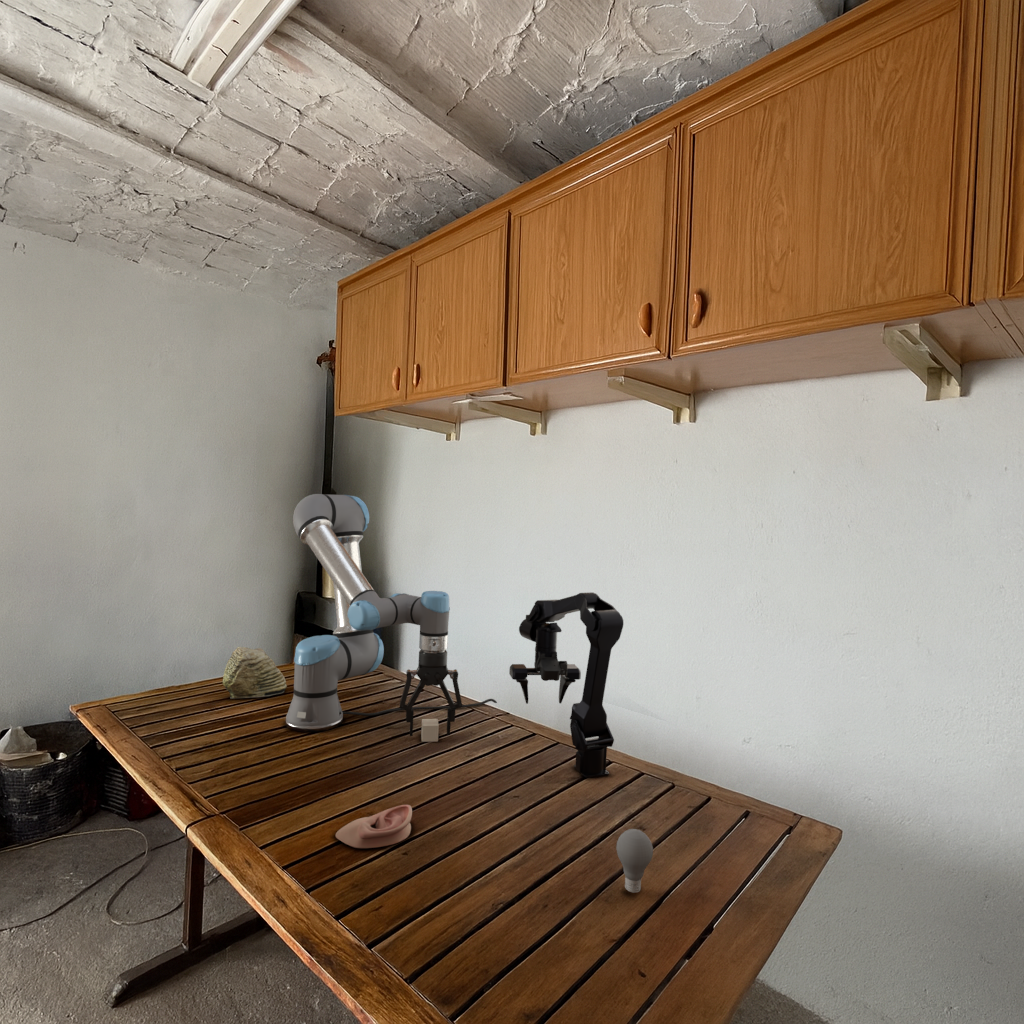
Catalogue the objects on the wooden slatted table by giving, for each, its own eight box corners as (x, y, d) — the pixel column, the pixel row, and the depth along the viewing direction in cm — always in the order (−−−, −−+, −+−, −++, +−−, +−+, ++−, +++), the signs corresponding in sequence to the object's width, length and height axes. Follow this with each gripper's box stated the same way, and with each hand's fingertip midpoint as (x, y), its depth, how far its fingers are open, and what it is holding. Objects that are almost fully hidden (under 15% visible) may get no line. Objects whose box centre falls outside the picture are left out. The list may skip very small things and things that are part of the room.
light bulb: (610, 879, 108) (613, 822, 108) (644, 879, 109) (647, 822, 109) (619, 902, 102) (622, 840, 102) (655, 901, 103) (658, 840, 103)
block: (421, 741, 166) (422, 725, 166) (421, 734, 171) (421, 718, 171) (438, 741, 167) (438, 725, 167) (437, 734, 172) (437, 718, 172)
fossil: (218, 695, 195) (220, 647, 195) (278, 685, 208) (279, 640, 207) (228, 703, 189) (230, 653, 188) (289, 692, 201) (290, 645, 201)
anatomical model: (328, 822, 116) (356, 794, 127) (327, 843, 116) (355, 813, 127) (396, 832, 113) (418, 803, 124) (395, 855, 113) (418, 823, 124)
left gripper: (391, 653, 163) (387, 740, 163) (475, 653, 166) (472, 738, 167) (391, 646, 170) (388, 729, 171) (472, 646, 174) (469, 728, 174)
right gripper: (517, 653, 162) (514, 713, 162) (587, 653, 165) (584, 712, 166) (510, 643, 173) (507, 699, 173) (576, 643, 176) (573, 699, 177)
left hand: (429, 733), depth 169 cm, fingers open, 9 cm apart
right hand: (543, 703), depth 172 cm, fingers open, 9 cm apart
